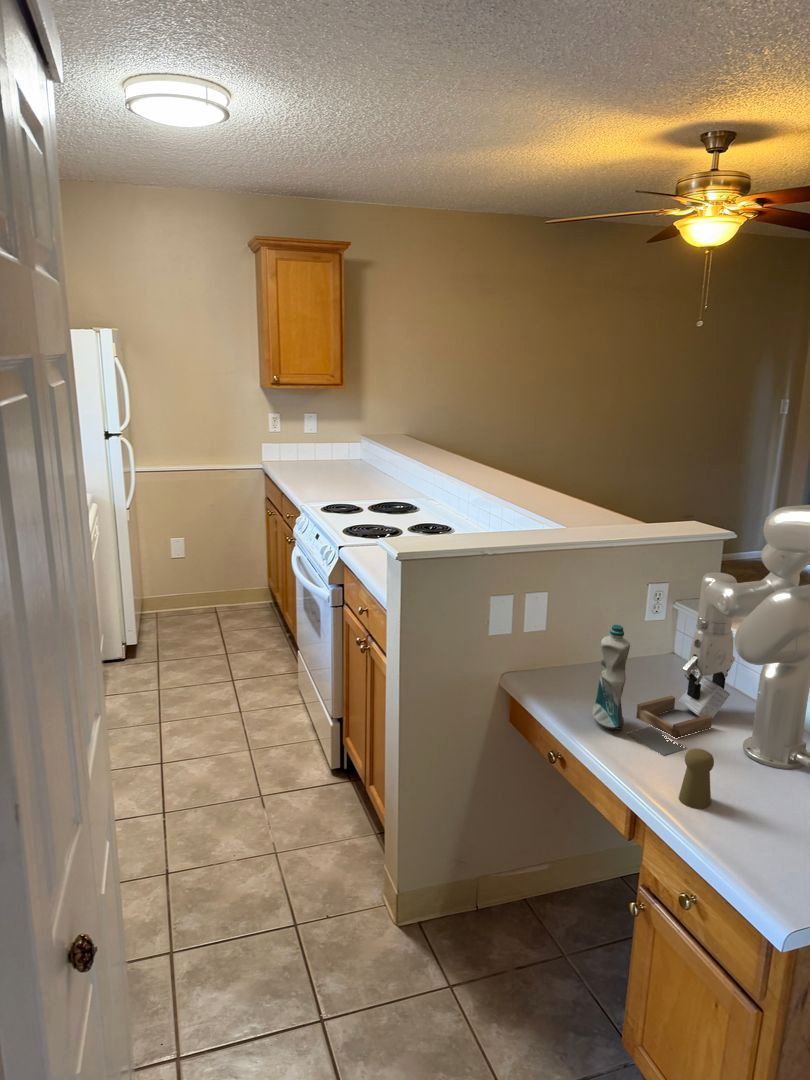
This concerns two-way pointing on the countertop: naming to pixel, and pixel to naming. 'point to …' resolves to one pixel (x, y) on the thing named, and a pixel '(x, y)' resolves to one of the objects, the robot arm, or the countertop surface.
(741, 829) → the countertop surface
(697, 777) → the olive pawn figure
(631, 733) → the stand pad
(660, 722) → the frame
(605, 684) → the detergent
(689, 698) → the medicine box
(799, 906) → the countertop surface
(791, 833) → the countertop surface
